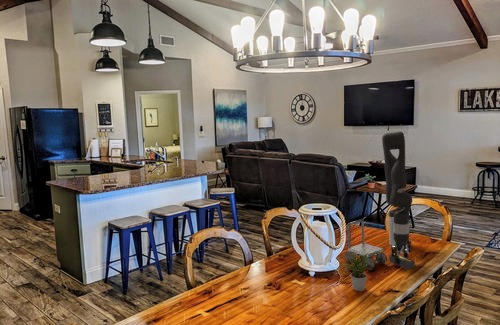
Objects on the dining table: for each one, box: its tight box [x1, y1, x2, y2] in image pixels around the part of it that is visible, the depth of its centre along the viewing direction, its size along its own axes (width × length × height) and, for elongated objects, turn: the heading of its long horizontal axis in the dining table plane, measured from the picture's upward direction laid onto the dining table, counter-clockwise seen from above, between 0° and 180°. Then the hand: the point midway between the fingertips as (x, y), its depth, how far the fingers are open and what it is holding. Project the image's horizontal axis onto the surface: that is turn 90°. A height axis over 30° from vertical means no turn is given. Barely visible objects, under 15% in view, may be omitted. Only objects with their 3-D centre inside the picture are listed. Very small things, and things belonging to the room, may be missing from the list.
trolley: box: [344, 218, 388, 270], centre depth 202 cm, size 18×12×22 cm, turn 35°
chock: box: [388, 253, 415, 271], centre depth 198 cm, size 13×4×4 cm, turn 22°
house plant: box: [340, 252, 369, 292], centre depth 174 cm, size 14×14×16 cm
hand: (401, 262), depth 199 cm, fingers open, 7 cm apart
